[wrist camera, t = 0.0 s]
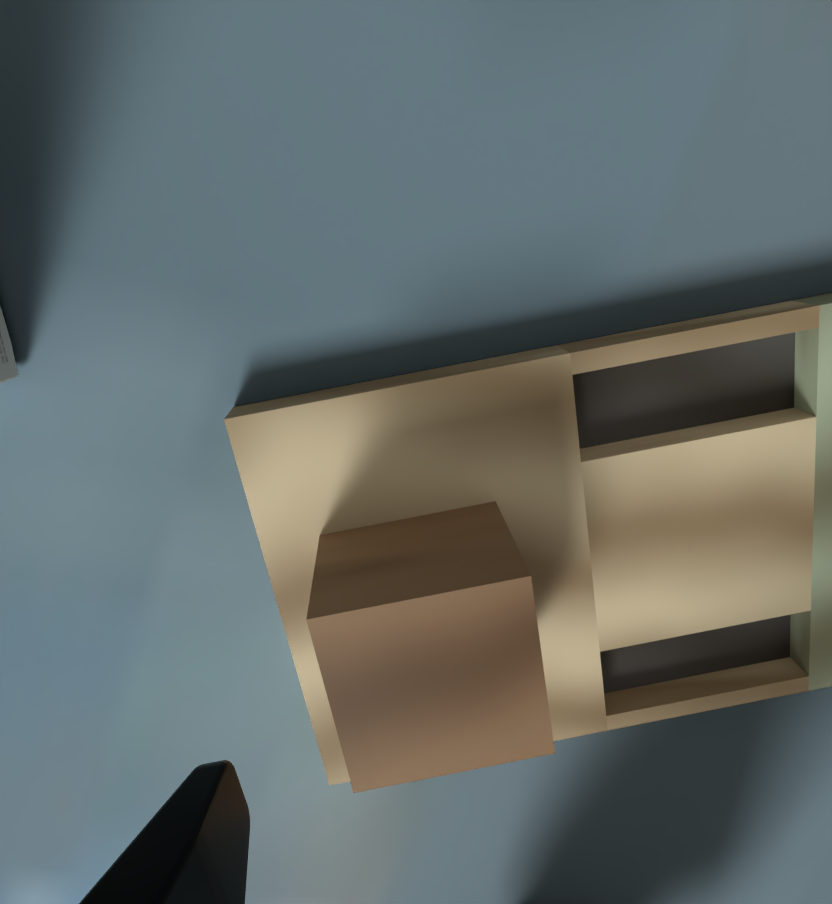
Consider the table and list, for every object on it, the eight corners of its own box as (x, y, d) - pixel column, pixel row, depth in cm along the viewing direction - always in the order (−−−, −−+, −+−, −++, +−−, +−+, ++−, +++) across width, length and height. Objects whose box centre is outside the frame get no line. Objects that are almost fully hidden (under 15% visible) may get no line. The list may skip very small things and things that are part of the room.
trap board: (997, 624, 27) (1132, 708, 22) (331, 755, 27) (323, 869, 22) (1051, 250, 22) (1239, 256, 17) (233, 407, 22) (195, 456, 17)
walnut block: (517, 649, 24) (554, 752, 19) (356, 680, 24) (353, 793, 19) (495, 501, 22) (531, 575, 17) (319, 535, 22) (306, 619, 17)
